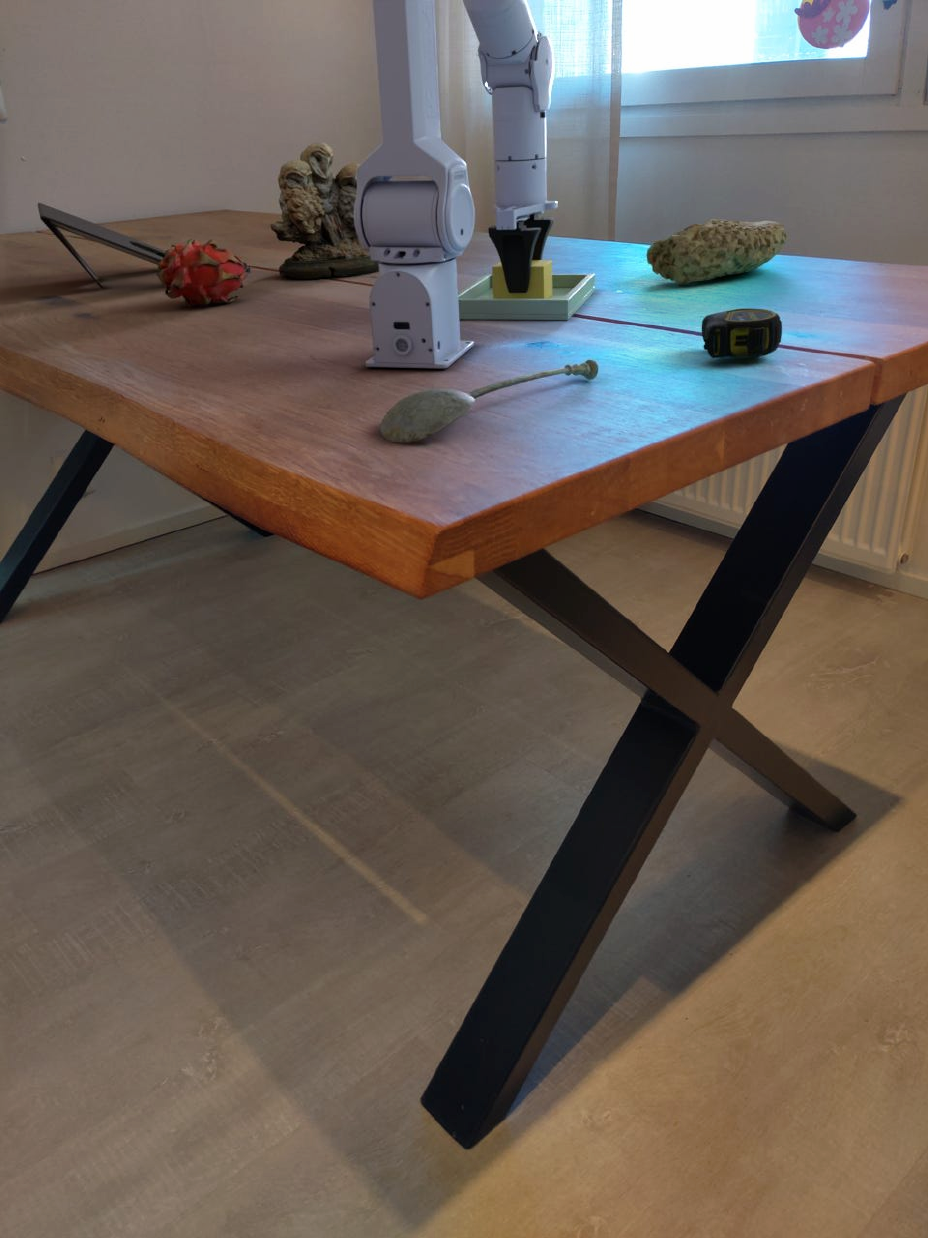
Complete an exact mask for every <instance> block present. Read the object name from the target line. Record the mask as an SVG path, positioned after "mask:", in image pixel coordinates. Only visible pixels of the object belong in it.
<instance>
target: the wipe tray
mask: <svg viewBox="0 0 928 1238" xmlns="http://www.w3.org/2000/svg"><path fill="white" fill-rule="evenodd" d="M595 282H596V274H595V273H552V296H551V297H550V298H549V299H493V277H492V273H487V274H484V275H482V276H481V277H479V278H478V279H477V280H475V281H473V282H471V283H470V284H469V285H467V286H465V288H462V289H461V290H458V304H459V320H479V321H480V320H482V321H483V320H486V321H488V320H489V321H491V320H494V321H503V320H504V321H514V320H515V321H569V320H570V319H571V318H572V317H573V316H574V314H576V312H577V311H578V310H579V309H580V308H581V307H582V306H583V305H584V303H586V301H587V300H588V299H589V298H590V297H591V296H592V295H593V294H594V293H595V288H596V287H595V286H596V285H595V284H596V283H595Z"/></svg>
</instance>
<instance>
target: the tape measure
mask: <svg viewBox="0 0 928 1238" xmlns="http://www.w3.org/2000/svg"><path fill="white" fill-rule="evenodd" d="M782 336H783V322H782V320H781V317H780V315H779V313H777V312H776V311H773V310H769V309H764V308H744V307H743V308H734V309H730V310H729V309H728V310H724V311H721V312H720V311H719V312H715V313H711V314H708V315H706V316H704V317H703V319H702V321H701V337H702V341H703V342H704V344H703V350H704V351H707V353H708V355H709V357H711V358H713V359H719V358H742V359H748V358H749V359H750V358H756V359H757V358H758V359H759V358H760V357H763V356H767V355H771V354H772V353H774V352H775V351H777V350H778V348H779V346H780V344H781V342H782Z"/></svg>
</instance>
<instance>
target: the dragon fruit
mask: <svg viewBox="0 0 928 1238" xmlns="http://www.w3.org/2000/svg"><path fill="white" fill-rule="evenodd" d="M170 247H171V248H170V249H166V250H164V251H165V256H164V257H165V258H163V259H162V260H161V261H160V262H159V263H157V264H158V265H157V269H158V273H157V274H156V276H157V278H158V279H159V281H160V283H161V284H162V285H163V286H165V288H166V289H165V290H164V292H165V295H166V296H167V297H168V298H169V299H178V298H180V297H182V298H184V302H185V304H186V305H187V306H188V307H190V308H191V307H193V306H195V305H198V303H199V304H200V305H204V306H206V305H208V304H210V303H219V302H220V303H224V304H230V303H233V302H235V301H236V300H238V299H239V296H238V295H234V296H231V297H229V295H230V294H231V293H234V292H236V291H238V290H239V289H243V288H244V284H243V282H244V281H245V279H246V278H247V277H248V275H249V274H250V273H251V267H250V266H249V267H247V266H248V264H247V263H246V262H245V260H243V258H241V257H239V256H237V255H234V254H233V253H232V252H231V249H229V248H221V247H218V245H217V243H216V241H215V239H209V240H208V241H207V242H206V243H204V244H201V243H200V241H198V240H197V239H194V240H193V239H192V238H189V239H188V240H187V241H186V245H185V246H184V245H182V244H180V243H172V244H171V246H170ZM173 247H174V249H173ZM228 297H229V298H228Z"/></svg>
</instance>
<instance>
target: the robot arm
mask: <svg viewBox="0 0 928 1238" xmlns="http://www.w3.org/2000/svg"><path fill="white" fill-rule="evenodd" d="M462 3H463V5H464V8H465V10H466V13H467V16H468V18H469V21H470V23H471V26H472V28H473V30H474V33H475V36H476V38H477V40H478V47H477V53H478V54H477V56H478V59H479V65H480V67H479V68H480V74H481V75H480V77H481V81H482V85H483V87H484V88H485V90H486V92H487V94H489V95H490V96H491V105H492V106H491V111H492V140H493V141H492V142H493V163H494V164H493V170H494V199H495V200H494V201H495V203H493V212H494V213H495V224H496V225H491V226H489V227H488V230H487V231H488V236H489V238H490V240H491V242H492V244H493V245H494V248H495V249H496V252H497V255H498V258H499V262H501V264H502V268H503V272H504V277H505V281H506V285H507V289H508V292H509V293H527V291H528V287H529V282H530V274H531V264H532V260H543V256H544V255H543V254H544V250H545V246H546V242H547V239H548V236H549V234H550V232H551V230H552V227H553V225H554V217H553V216H552V217H551V216H541V217H540V216H539V215H543V214H544V213H545V211H549V210H556V209H557V208H558V207H559V205H558V203H559V202H558V201H557V200H548V193H547V192H548V189H547V188H548V187H547V185H548V183H547V111H549V110H550V107H551V103H552V101H551V93H552V85H553V82H554V75H555V58H554V49H553V45H552V41H551V40H550V38H549V37H548V36H547V35H543V33H542V32H541V31H540V30H537V28H536V25H535V22H534V19H533V16H532V14H531V13H532V12H531V10H530V8H529V3H528V2H527V0H462ZM372 8H373V24H374V33H375V34H374V37H375V49H376V51H375V52H376V63H377V75H378V76H377V77H378V79H377V80H378V93H379V104H380V105H379V106H380V120H381V133H382V141H381V142H380V143H379V144H378V145H377V146H376V148H375V149H373V150H372V152H371V153H369V155H368V156H367V157H366V158H364V160H362V161H361V163H359V164H360V165H359V167H358V168H357V170H356V171H357V193H356V200H355V204H354V225H355V229H356V233H357V235H358V238H359V239H360V241H361V243H362V245H363V246H364V248H365V249H366V250H367V251H369V252H370V255H371V260H372V261H379V262H378V266H379V271H378V277H377V279H376V280H375V281H374V283H373V284H372V287H371V289H370V293H369V300H368V301H369V302H368V303H369V314H370V326H371V337H372V346H373V348H372V349H373V356H372V357H370V358H369V359H367V360H366V361H365V363H364V364H365V367H367V368H395V369H396V368H401V369H438V370H439V369H447V368H449V367H450V366H451V365H453V364H454V363H455V362H457V360H458V359H459V358H461V357H462V356H463V355H464V354H466V352H468V351H469V350H470V349H471V348H472V347H474V345H475V343H474V342H475V341H473V340H461V326H460V319H459V304H458V292H459V286H458V266H457V265H458V264H457V258H458V257H459V256H463V255H464V251H465V250H466V248H467V247H468V246H469V244H470V242H471V240H472V238H473V234H474V231H475V221H476V211H475V203H474V198H473V196H472V193H471V189H470V183H469V174H468V173H469V172H468V169H467V168H468V167H467V166H468V165H467V163H466V161H464V159H463V158H462V157H461V156H460V155H458V154H457V153H456V152H455V151H454V150H453V149H452V148H451V147H449V146H448V145H447V144H446V143H445V142H444V141H443V140H442V137H441V136H442V133H441V131H442V130H441V114H440V113H441V111H440V110H441V109H440V92H439V91H440V90H439V71H438V69H439V68H438V50H437V49H438V47H437V31H436V7H435V0H372ZM407 176H408V177H411V176H412V177H413V176H415V177H417V176H421V177H422V176H423V177H428V178H429V180H425V179H423V180H392V179H393V178H394V177H407Z"/></svg>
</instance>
